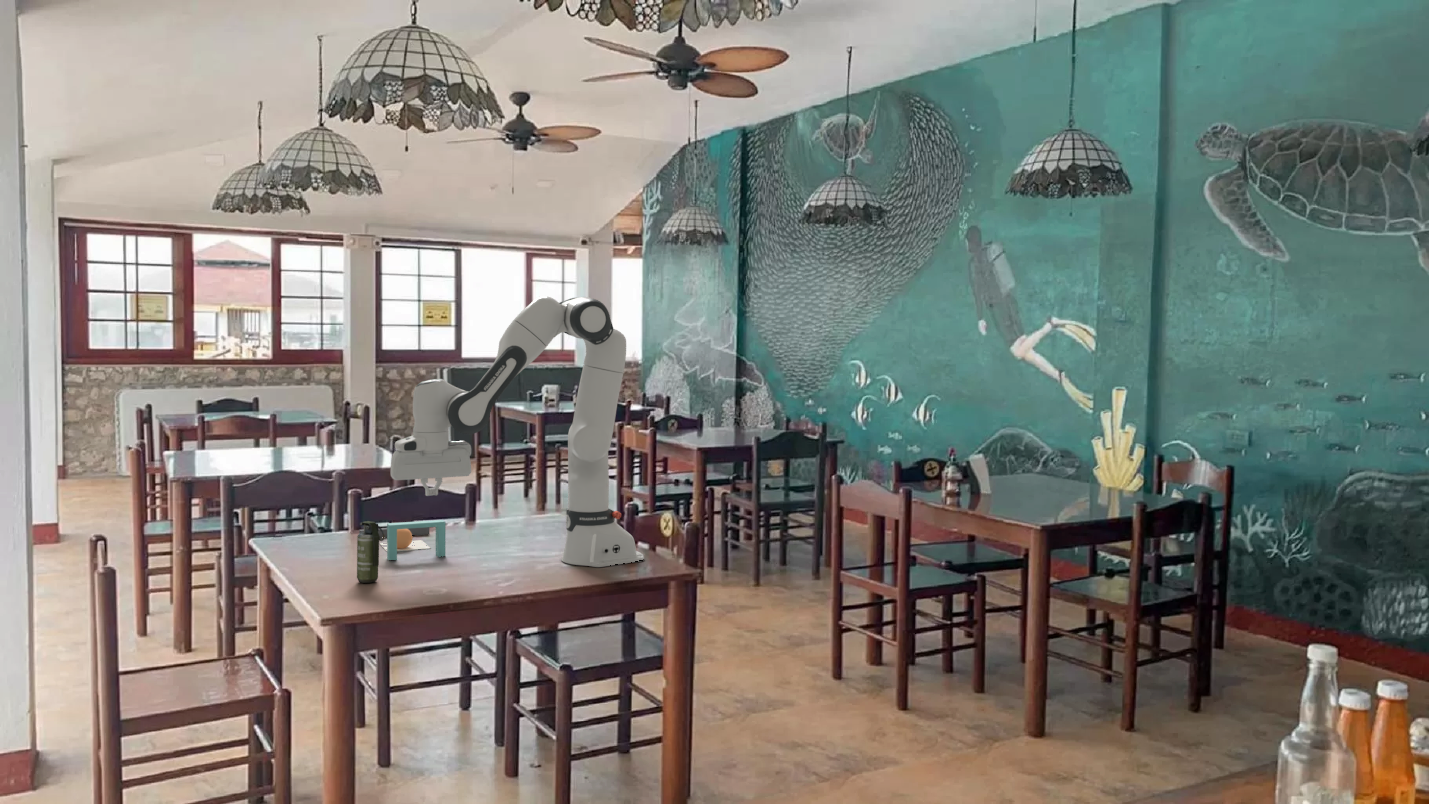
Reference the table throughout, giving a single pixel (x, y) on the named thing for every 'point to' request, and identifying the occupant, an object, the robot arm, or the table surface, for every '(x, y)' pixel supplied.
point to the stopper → (413, 530)
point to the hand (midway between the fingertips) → (431, 495)
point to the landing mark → (418, 545)
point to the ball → (403, 538)
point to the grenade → (368, 552)
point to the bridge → (393, 527)
